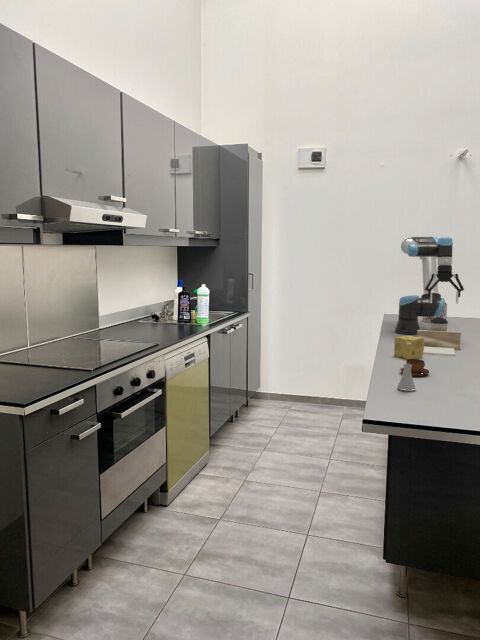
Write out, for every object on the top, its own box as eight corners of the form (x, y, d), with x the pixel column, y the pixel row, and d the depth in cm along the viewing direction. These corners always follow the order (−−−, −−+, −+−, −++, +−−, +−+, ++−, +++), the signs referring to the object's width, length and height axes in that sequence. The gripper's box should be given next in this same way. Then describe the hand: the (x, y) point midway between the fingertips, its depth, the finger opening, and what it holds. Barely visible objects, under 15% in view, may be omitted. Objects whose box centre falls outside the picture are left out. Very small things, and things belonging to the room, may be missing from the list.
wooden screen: (416, 345, 292) (417, 329, 291) (459, 348, 285) (460, 331, 283) (416, 347, 287) (417, 331, 285) (460, 350, 279) (461, 333, 278)
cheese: (408, 360, 257) (409, 340, 255) (392, 355, 266) (393, 336, 265) (423, 357, 262) (424, 338, 260) (407, 353, 271) (408, 334, 270)
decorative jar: (421, 321, 378) (423, 296, 375) (434, 320, 382) (435, 295, 380) (434, 324, 367) (435, 298, 364) (446, 322, 372) (448, 297, 369)
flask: (394, 387, 209) (395, 362, 208) (411, 386, 210) (412, 362, 208) (401, 392, 202) (402, 367, 201) (419, 392, 203) (420, 366, 201)
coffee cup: (447, 346, 289) (449, 319, 287) (430, 345, 291) (432, 319, 288) (444, 343, 298) (446, 317, 295) (428, 342, 299) (429, 316, 297)
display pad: (422, 347, 286) (422, 346, 286) (453, 349, 280) (454, 348, 280) (421, 353, 271) (421, 352, 271) (455, 355, 265) (455, 354, 265)
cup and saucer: (406, 369, 238) (407, 356, 237) (433, 374, 230) (434, 360, 230) (395, 375, 229) (396, 361, 228) (423, 379, 221) (423, 365, 220)
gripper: (421, 264, 293) (420, 302, 293) (470, 264, 287) (469, 303, 287) (420, 266, 300) (419, 303, 301) (467, 265, 294) (466, 303, 294)
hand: (443, 303), depth 294 cm, fingers open, 13 cm apart
